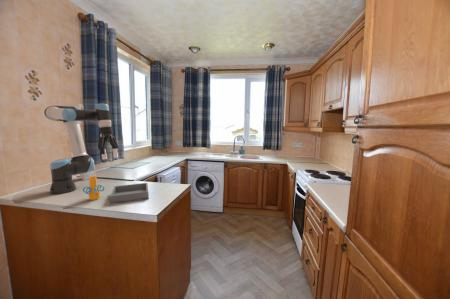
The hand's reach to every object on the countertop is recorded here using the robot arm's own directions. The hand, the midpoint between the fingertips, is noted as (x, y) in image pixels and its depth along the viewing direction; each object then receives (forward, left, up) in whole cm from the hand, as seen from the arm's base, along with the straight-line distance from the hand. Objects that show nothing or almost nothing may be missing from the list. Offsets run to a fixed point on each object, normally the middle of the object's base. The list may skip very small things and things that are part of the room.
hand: (110, 158), depth 136 cm
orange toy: (+1, -11, -26) cm, 28 cm away
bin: (+5, +11, -26) cm, 29 cm away
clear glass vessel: (-62, -28, -26) cm, 73 cm away
